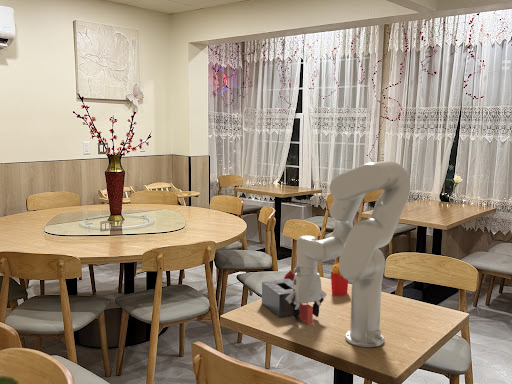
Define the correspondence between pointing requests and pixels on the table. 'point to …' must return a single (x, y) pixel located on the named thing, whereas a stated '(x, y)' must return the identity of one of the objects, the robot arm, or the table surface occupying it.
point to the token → (306, 313)
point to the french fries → (338, 282)
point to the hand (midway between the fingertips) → (306, 316)
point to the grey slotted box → (278, 297)
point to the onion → (290, 275)
